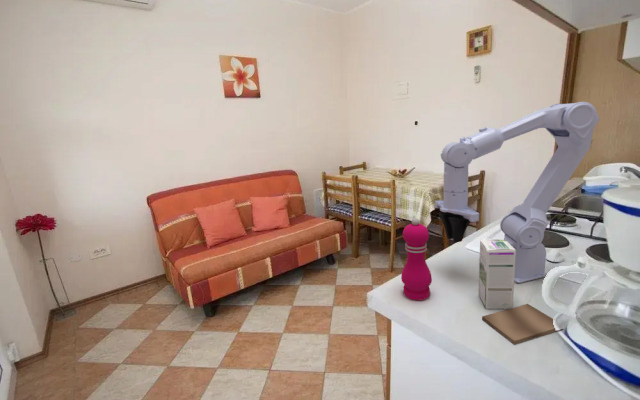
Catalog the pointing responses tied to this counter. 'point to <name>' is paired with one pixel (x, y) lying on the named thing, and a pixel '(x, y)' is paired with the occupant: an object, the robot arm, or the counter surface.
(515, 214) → the robot arm
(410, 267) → the pepper mill
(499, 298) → the syrup box
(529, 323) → the walnut board
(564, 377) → the counter surface
